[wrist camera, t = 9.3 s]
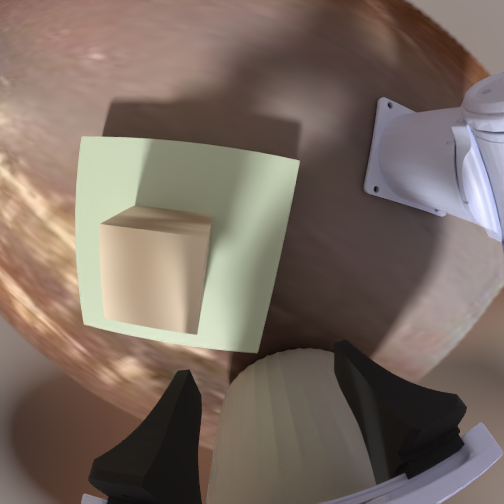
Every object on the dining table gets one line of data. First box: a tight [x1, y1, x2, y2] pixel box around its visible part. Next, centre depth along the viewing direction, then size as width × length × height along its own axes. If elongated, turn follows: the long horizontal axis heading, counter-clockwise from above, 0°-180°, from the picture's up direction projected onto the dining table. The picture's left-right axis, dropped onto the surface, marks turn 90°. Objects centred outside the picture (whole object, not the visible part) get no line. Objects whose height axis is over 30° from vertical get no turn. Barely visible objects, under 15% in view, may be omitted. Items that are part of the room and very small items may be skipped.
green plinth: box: [75, 137, 300, 353], centre depth 18 cm, size 14×14×3 cm
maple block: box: [100, 205, 214, 335], centre depth 14 cm, size 5×5×5 cm
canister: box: [206, 348, 376, 504], centre depth 15 cm, size 18×18×21 cm
